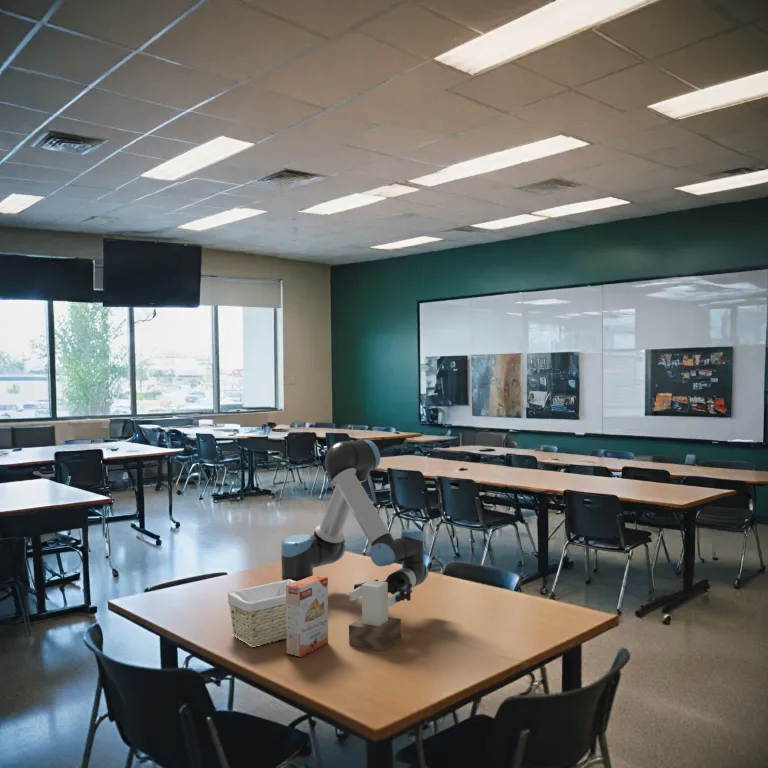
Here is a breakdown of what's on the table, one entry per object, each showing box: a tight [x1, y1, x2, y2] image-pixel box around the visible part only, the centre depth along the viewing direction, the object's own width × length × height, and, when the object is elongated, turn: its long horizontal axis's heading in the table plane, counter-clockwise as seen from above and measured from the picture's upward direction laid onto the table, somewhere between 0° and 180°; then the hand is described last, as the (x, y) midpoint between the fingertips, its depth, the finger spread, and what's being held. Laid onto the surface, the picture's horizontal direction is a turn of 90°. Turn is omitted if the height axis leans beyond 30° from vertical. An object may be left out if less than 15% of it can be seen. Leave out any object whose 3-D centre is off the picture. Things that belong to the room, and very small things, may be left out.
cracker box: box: [285, 574, 329, 658], centre depth 216 cm, size 14×6×21 cm, turn 148°
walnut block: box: [348, 616, 402, 652], centre depth 221 cm, size 12×12×6 cm
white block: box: [361, 579, 389, 626], centre depth 221 cm, size 6×6×12 cm
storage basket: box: [227, 579, 296, 646], centre depth 229 cm, size 24×16×15 cm
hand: (369, 599), depth 218 cm, fingers open, 13 cm apart
